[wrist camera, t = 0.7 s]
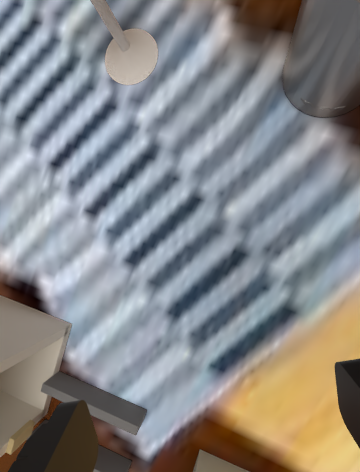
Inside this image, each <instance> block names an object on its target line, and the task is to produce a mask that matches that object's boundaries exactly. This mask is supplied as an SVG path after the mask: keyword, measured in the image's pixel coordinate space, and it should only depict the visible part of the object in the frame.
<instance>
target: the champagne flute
mask: <svg viewBox="0 0 360 472" xmlns="http://www.w3.org/2000/svg"><path fill="white" fill-rule="evenodd" d="M91 2H92V4H93V5H94V7H95V9H96V10H97V12H98V13H99V15H100V17H101V18H102V20H103V22H104V23H105V25H106V26H107V28H108V30H109V31H110V33H111V35H112V36H113V38H114V39H113V40H112V41H111V43H110V44H109V46H108V48H107V51H106V55H105V66H106V69H107V72H108V74H109V75H110V77H111V78H112V79H113V80H115V81H116V82H118V83H120V84H124V85H133V84H137V83H139V82H141V81H143V80H144V79H146V78H147V77H148V76H149V75H150V74H151V72H152V71H153V69H154V68H155V65H156V63H157V59H158V48H157V44H156V42H155V40H154V38H153V37H152V36H151V35H150V34H149V33H148V32H146V31H144V30H141V29H128V30H125V31H122V29H121V27H120V26H119V24H118V22H117V20H116V18H115V17H114V15H113V13H112V11H111V9H110V8H109V6H108V4H107V2H106V0H91Z"/></svg>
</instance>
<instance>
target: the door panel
mask: <svg viewBox="0 0 360 472" xmlns="http://www.w3.org/2000/svg"><path fill="white" fill-rule="evenodd" d="M193 472H249V471H247V470H244V469H242V468H240V467H238V466H236V465H233V464H231V463H229V462H227V461H225V460H222V459H220V458H218V457H216V456H214V455H211V454H209V453H207V452H205V451H203V450H199V454H198V457H197V460H196V463H195V466H194V469H193Z"/></svg>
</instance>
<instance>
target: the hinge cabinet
mask: <svg viewBox="0 0 360 472" xmlns="http://www.w3.org/2000/svg"><path fill="white" fill-rule="evenodd" d="M71 326H72V324H71V323H68V322H66V321H63V320H61V319H58V318H56V317H53V316H51V315H48V314H46V313H43V312H41V311H38V310H36V309H33V308H31V307H29V306H26V305H24V304H21V303H19V302H16V301H14V300H11V299H9V298H6V297H4V296H1V295H0V457H1V456H2V455H3V454H4V453H5V452H6V453H8V454H10V455H11V454H12V453H13V452H14V451H15V450H16V449H17V448H18V447H19V446H20V445H21V444H22V443H23V442H24V441H25V440H26V439H27V440H28V439H29V438H30V437H31V436H32V435H33V434H34V433H35V431H36V430H37V429H38V428H39V427H40V426H41V425H42V424H46V423H48V420H46V419H45V420H44V421H43V422H42V423H41V424H40V425H39V426H38V427H37V428H36V429H35V430H34V431H33V432H32V430H33V427H34V425H35V424H36V423H38V422H39V421H40V420H41V419H42V418H43V417H44V416H45V415H46V414H47V412H48V408H49V405H50V401H51V398H52V397H54V398H56V399H58V400H60V401H62V402H64V403H65V402H71V401H78V400H84V401H85V402H86V403H87V406H88V409H89V412H90V415H92V416H95V417H97V418H99V419H101V420H103V421H105V422H108V423H110V424H112V425H114V426H116V427H118V428H121V429H123V430H125V431H127V432H129V433H131V434H133V435H136V434H137V432H138V430H139V428H140V426H141V424H142V422H143V420H144V418H145V415H146V412H147V410H146V409H144V408H141V407H139V406H137V405H135V404H132V403H130V402H128V401H126V400H123V399H121V398H119V397H116V396H114V395H112V394H110V393H107V392H105V391H103V390H101V389H98V388H96V387H94V386H92V385H89V384H87V383H85V382H82V381H80V380H78V379H76V378H73V377H71V376H69V375H67V374H64V373H62V372H60V371H59V369H60V366H61V362H62V358H63V355H64V351H65V348H66V344H67V341H68V337H69V334H70V330H71ZM131 462H132V461H131V460H129V459H127V458H125V457H123V456H121V455H119V454H116V453H114V452H112V451H110V450H108V449H106V448H104V447H102V446H100V445H98V457H97V461H96V464H95V467H94V470H93V472H128V471H129V468H130V465H131Z"/></svg>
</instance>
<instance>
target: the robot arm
mask: <svg viewBox="0 0 360 472" xmlns="http://www.w3.org/2000/svg"><path fill="white" fill-rule="evenodd" d="M282 81H283V88H284V90H285V93H286V96H287V97H288V99H289V100H290V102H291V103H292V104H293V105H294V106H295V107H296V108H298V109H299V110H301V111H302V112H304V113H306V114H309V115H312V116H316V117H335V116H338V115H342V114H345V113H347V112H349V111H351V110H353V109H355V108H356V107H358V106H359V105H360V0H302V3H301V6H300V10H299V14H298V17H297V21H296V24H295V28H294V32H293V35H292V38H291V42H290V45H289V49H288V53H287V56H286V60H285V64H284V67H283V74H282ZM335 375H336V385H337V394H338V403H339V409H340V412H341V415H342V418H343V420H344V423H345V425H346V427H347V429H348V430H349V432H350V434H351V435H352V437H353V438H354V440H355V442H356V443H357V445H358V446H359V448H360V359H355V360H348V361H342V362H336V363H335ZM97 457H98V438H97V434H96V431H95V428H94V425H93V422H92V418H91V415H90V412H89V409H88V406H87V403H86V402H85V401H84V400H78V401H71V402H65V403H60V404H59V405H58V406H57V407H56V409H55V411H54V412H53V414H52V416H51V418H50V419H49V421H48V423H46V424H42V425H41V426H40V427H39V428H38V429H37V430H36V431H35V433H34V434H33V435H32V436H31V437H30V438H29V439H28V440H27V441H26V443H25V445H24V446H23V448H22V450H21V451H20V453H19V454H18V456H17V460H16V461H14V463H13V464H12V466H11V467H10V469H9V471H8V472H93V470H94V467H95V464H96V461H97Z"/></svg>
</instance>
